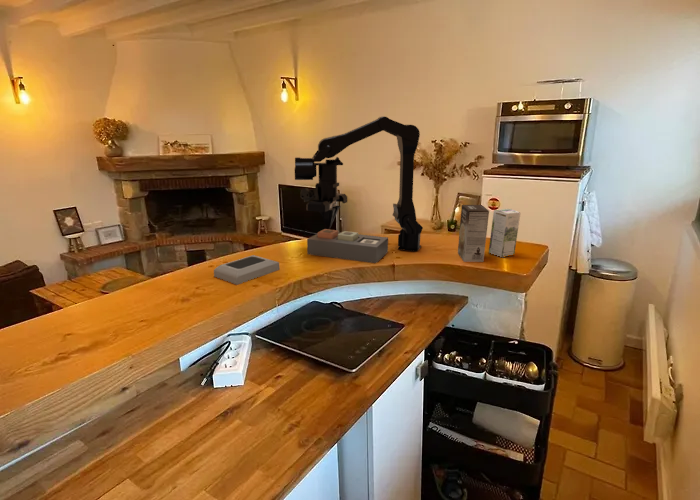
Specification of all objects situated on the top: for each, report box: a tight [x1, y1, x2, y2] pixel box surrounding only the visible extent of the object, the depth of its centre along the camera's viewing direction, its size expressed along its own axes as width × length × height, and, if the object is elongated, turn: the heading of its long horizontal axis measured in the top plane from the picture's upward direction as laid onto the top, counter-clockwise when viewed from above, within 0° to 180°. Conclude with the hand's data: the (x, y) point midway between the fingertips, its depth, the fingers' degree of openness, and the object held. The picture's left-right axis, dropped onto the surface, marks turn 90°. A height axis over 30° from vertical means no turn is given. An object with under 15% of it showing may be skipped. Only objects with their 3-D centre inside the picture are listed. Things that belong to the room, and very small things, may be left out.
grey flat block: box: [213, 254, 280, 286], centre depth 116 cm, size 10×4×15 cm
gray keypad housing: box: [306, 231, 389, 264], centre depth 134 cm, size 23×12×5 cm, turn 69°
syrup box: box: [488, 208, 521, 258], centre depth 133 cm, size 6×6×14 cm
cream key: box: [361, 239, 378, 244], centre depth 131 cm, size 5×5×3 cm
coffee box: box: [457, 204, 490, 263], centre depth 129 cm, size 9×6×16 cm
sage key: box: [338, 230, 359, 242], centre depth 133 cm, size 5×5×3 cm
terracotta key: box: [317, 228, 339, 239], centre depth 136 cm, size 5×5×3 cm
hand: (328, 228), depth 135 cm, fingers closed
